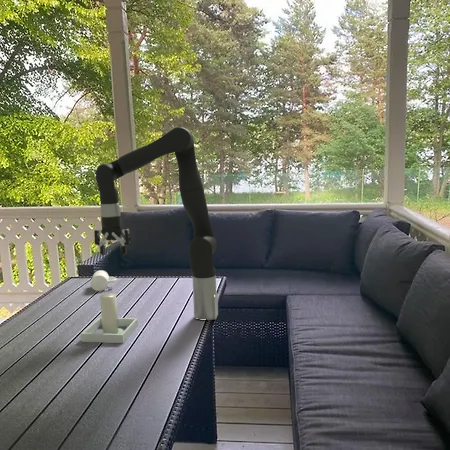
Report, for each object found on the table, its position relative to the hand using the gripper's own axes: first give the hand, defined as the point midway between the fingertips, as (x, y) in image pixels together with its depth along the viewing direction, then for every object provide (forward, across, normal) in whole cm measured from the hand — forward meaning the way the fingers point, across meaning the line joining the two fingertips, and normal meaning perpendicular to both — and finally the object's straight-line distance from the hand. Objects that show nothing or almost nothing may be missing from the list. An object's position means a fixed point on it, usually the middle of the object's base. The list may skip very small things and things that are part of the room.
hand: (113, 255), depth 176 cm
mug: (+26, -22, +38) cm, 51 cm away
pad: (+26, +4, -17) cm, 31 cm away
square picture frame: (+26, +4, -17) cm, 31 cm away
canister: (+25, +4, -17) cm, 31 cm away
